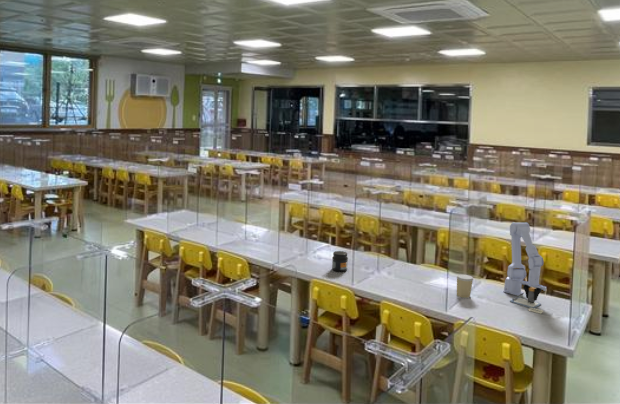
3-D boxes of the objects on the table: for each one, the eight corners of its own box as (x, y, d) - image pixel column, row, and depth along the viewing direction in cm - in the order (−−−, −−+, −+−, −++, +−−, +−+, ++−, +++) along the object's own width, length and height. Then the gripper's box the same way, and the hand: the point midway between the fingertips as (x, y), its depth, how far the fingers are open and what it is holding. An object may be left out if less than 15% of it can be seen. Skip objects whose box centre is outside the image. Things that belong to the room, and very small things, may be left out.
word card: (528, 310, 295) (528, 309, 295) (530, 307, 299) (530, 307, 299) (541, 313, 291) (541, 313, 291) (543, 311, 295) (543, 310, 295)
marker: (525, 301, 305) (527, 288, 303) (528, 299, 308) (530, 286, 306) (533, 303, 302) (534, 290, 301) (535, 301, 305) (537, 288, 304)
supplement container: (350, 271, 353) (351, 254, 351) (337, 273, 348) (338, 255, 346) (341, 266, 362) (342, 250, 360) (328, 268, 357) (329, 251, 355)
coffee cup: (468, 293, 319) (470, 274, 317) (473, 298, 310) (475, 279, 308) (453, 292, 319) (454, 274, 317) (457, 298, 310) (459, 279, 308)
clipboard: (509, 301, 308) (510, 299, 307) (517, 297, 315) (517, 295, 314) (533, 308, 298) (533, 306, 298) (540, 304, 305) (541, 302, 305)
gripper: (518, 274, 305) (516, 296, 307) (543, 281, 295) (541, 304, 297) (524, 272, 310) (521, 294, 312) (548, 278, 299) (546, 301, 302)
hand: (531, 298), depth 305 cm, fingers closed on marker, 4 cm apart
